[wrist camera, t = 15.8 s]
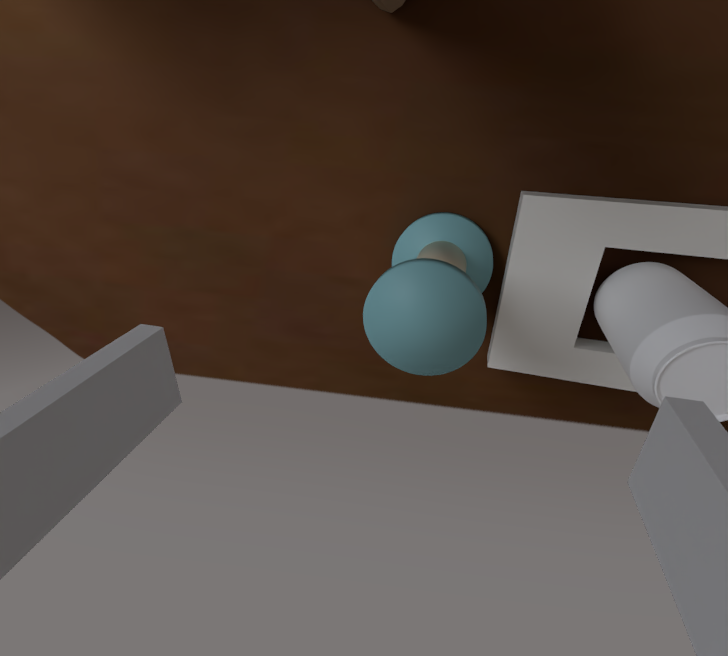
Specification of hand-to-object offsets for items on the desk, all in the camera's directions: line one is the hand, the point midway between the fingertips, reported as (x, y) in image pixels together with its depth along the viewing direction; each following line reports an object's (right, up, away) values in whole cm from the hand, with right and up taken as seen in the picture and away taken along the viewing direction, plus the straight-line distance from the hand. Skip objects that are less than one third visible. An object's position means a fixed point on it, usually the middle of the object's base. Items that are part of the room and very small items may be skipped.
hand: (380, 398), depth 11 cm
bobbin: (+6, +7, +23) cm, 24 cm away
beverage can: (+20, +4, +20) cm, 29 cm away
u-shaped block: (+18, +5, +20) cm, 27 cm away
